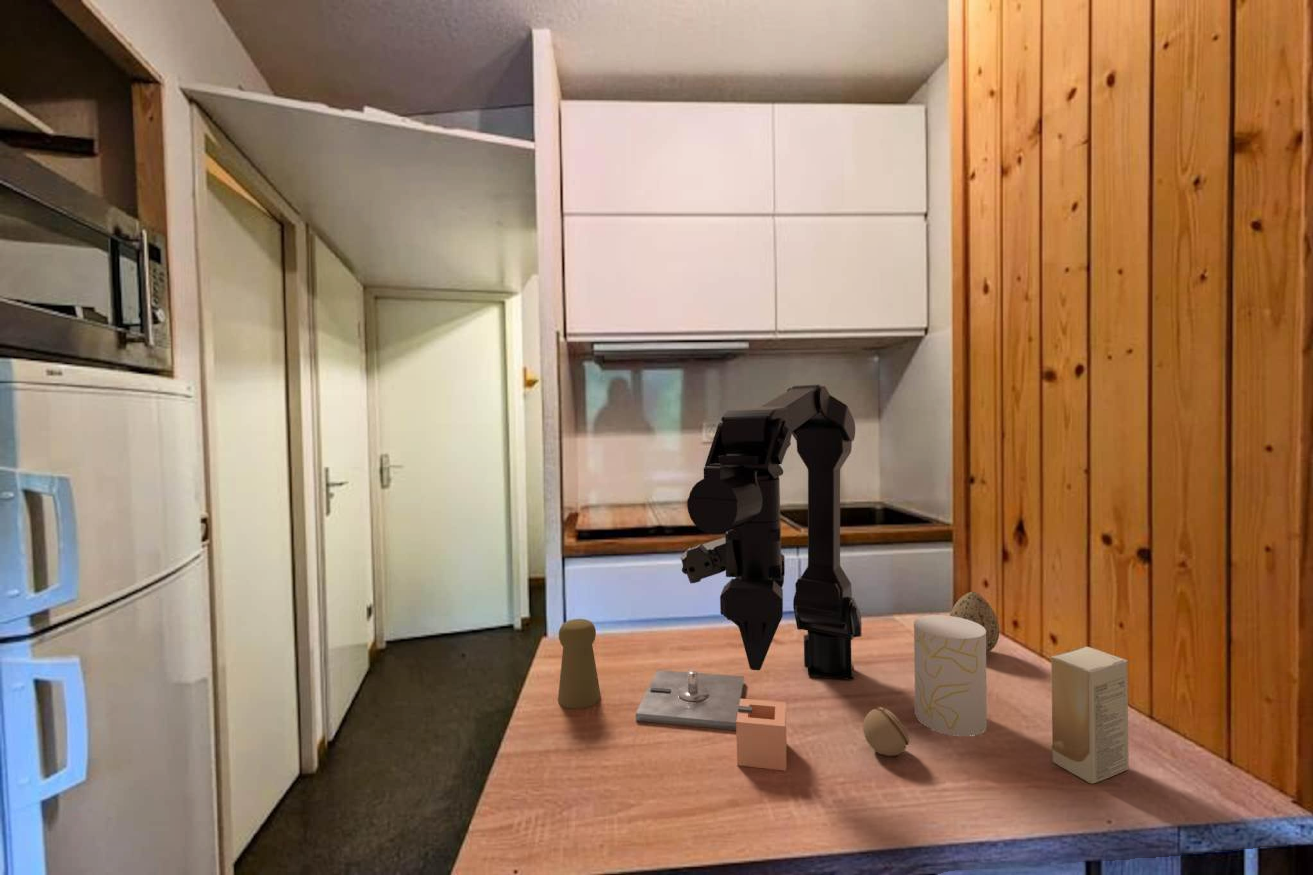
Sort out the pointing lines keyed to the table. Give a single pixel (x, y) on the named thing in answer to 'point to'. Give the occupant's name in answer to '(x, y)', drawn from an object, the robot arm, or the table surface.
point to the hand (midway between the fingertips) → (757, 652)
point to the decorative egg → (978, 616)
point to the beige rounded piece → (885, 732)
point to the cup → (950, 674)
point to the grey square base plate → (692, 699)
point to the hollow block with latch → (761, 734)
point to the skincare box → (1090, 713)
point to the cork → (578, 665)
